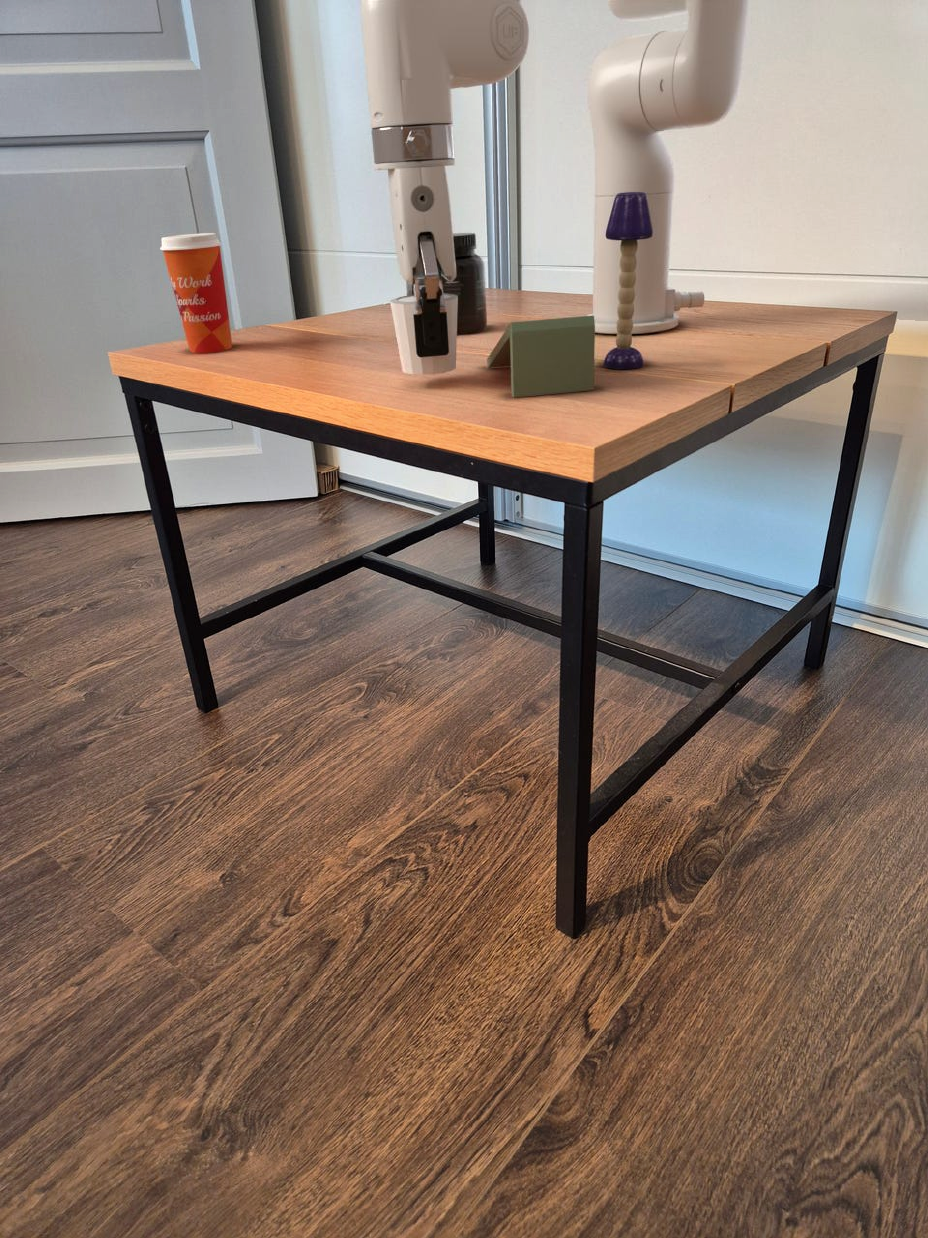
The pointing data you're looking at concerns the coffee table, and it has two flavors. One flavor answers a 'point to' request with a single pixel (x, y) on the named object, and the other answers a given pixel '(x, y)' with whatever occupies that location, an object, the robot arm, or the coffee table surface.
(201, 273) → the paper cup
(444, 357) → the white faceted cup
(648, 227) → the toy lamp
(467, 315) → the supplement bottle
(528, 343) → the green tent sign
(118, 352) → the coffee table surface
